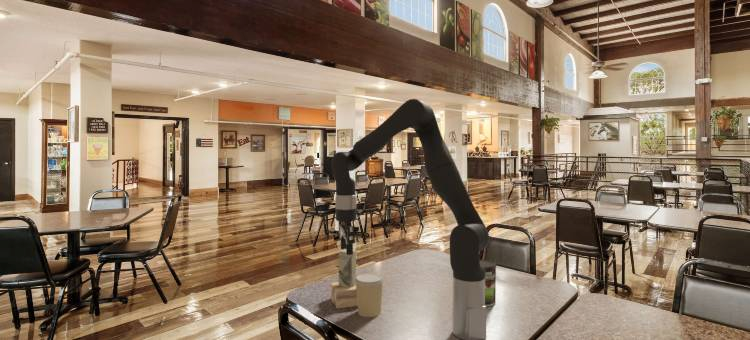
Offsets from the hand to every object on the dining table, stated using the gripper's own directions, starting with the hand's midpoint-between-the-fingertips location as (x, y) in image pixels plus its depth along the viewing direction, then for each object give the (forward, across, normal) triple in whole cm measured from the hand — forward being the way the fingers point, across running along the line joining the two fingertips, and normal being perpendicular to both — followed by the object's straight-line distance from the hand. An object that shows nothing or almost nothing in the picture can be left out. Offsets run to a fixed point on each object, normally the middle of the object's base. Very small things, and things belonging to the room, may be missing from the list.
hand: (346, 251), depth 137 cm
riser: (+18, 0, 0) cm, 18 cm away
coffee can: (+19, -16, -46) cm, 52 cm away
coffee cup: (+19, -12, -5) cm, 23 cm away
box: (+13, 0, 0) cm, 13 cm away
